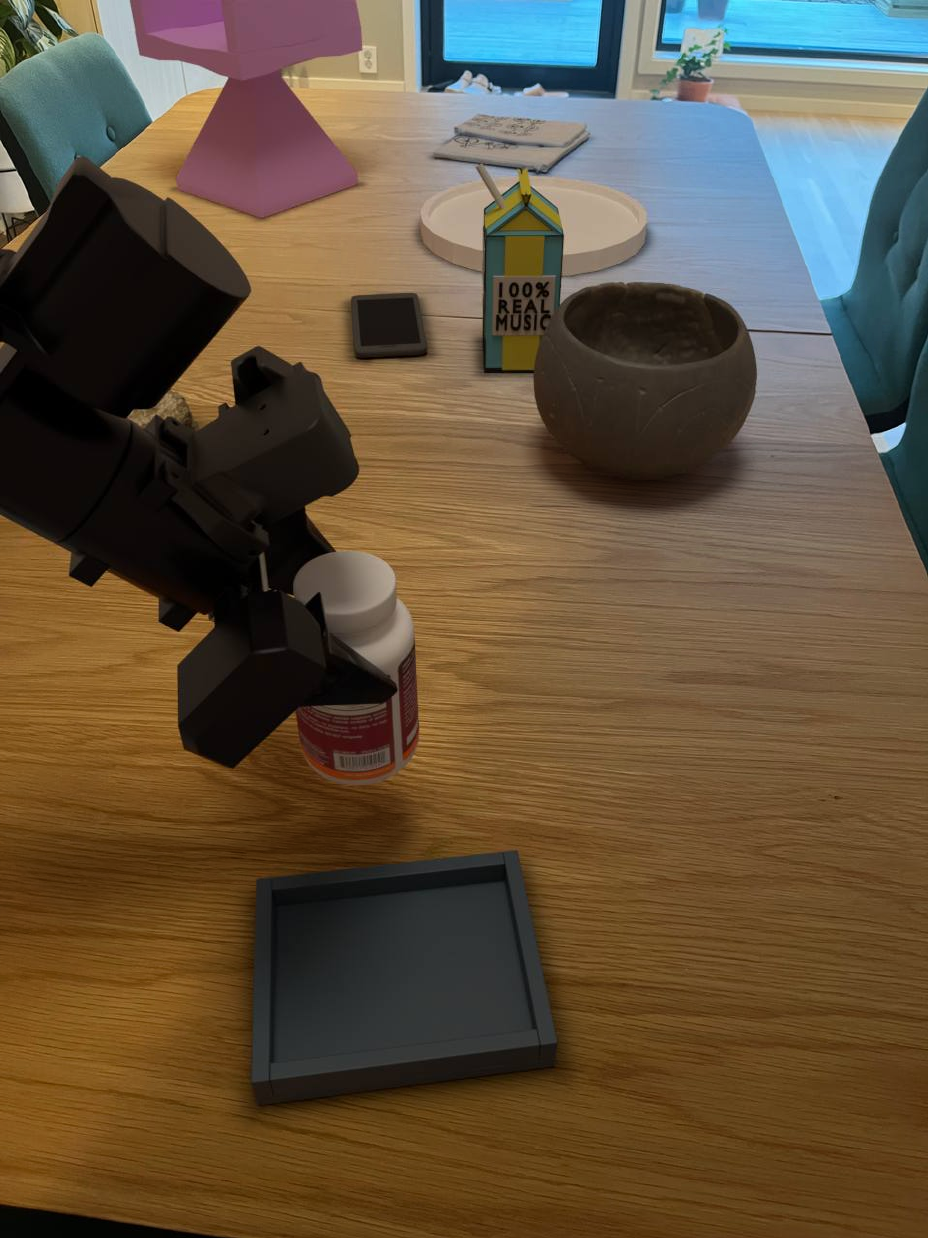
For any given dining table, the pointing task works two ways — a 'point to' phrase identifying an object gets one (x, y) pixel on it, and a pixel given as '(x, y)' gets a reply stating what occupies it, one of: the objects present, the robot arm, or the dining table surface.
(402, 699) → the pill bottle
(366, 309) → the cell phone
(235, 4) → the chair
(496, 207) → the carton
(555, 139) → the folded cloth napkin
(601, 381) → the bowl
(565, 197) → the plate
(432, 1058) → the dish
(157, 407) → the cake
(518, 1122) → the dining table surface
